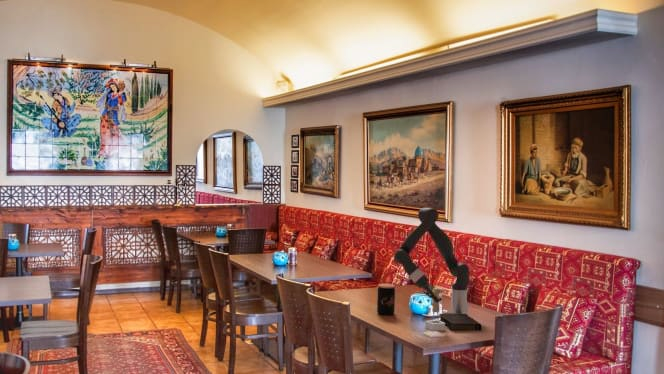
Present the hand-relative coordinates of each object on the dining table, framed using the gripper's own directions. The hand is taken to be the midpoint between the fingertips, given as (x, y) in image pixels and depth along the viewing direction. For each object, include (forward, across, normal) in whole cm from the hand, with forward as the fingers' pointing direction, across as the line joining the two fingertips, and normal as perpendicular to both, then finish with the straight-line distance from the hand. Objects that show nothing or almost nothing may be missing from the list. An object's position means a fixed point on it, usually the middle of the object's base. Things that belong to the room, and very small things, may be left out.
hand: (439, 301), depth 391 cm
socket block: (+10, 0, +13) cm, 16 cm away
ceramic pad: (+12, -14, +10) cm, 21 cm away
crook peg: (+4, 0, +5) cm, 6 cm away
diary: (+18, +15, +7) cm, 24 cm away
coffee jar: (-17, +21, +40) cm, 48 cm away
